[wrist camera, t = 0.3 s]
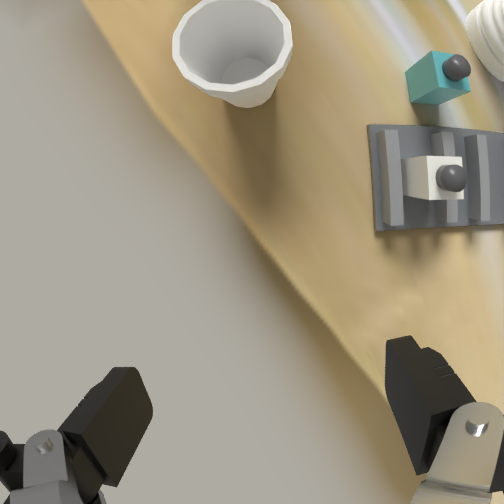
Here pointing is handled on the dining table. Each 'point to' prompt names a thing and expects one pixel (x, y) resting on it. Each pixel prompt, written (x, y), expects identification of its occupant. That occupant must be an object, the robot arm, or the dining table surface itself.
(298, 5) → the dining table surface
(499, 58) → the honey pot
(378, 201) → the comb board
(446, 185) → the white plug
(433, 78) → the teal plug
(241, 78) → the foam cup
